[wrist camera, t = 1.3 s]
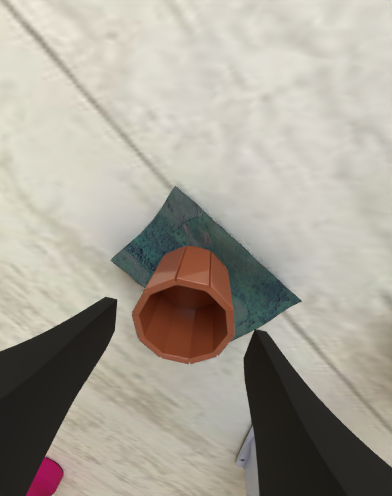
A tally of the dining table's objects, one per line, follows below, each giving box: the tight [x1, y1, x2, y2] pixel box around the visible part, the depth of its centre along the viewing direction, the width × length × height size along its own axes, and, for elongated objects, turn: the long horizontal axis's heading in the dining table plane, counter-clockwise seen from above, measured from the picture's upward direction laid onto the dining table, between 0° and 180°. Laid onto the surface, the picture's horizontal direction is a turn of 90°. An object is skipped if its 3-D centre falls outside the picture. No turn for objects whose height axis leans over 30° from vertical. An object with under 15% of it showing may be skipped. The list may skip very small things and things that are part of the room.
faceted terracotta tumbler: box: [132, 246, 235, 364], centre depth 14 cm, size 5×6×5 cm
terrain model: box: [111, 186, 301, 342], centre depth 17 cm, size 13×8×2 cm, turn 49°
